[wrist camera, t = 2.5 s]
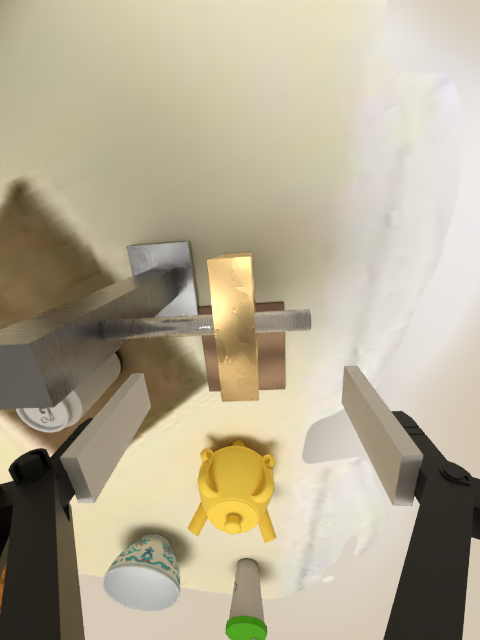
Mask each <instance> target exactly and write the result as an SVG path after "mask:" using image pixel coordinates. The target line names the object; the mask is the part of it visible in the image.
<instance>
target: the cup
mask: <svg viewBox="0 0 480 640" xmlns="http://www.w3.org/2000/svg"><path fill="white" fill-rule="evenodd" d="M226 635H227V636H228V637H229V638H230V639H231V640H265V639H266V636H267V626H266V625H265V623H264V615H263V607H262V598H261V589H260V581H259V572H258V564H257V563H256V561H254V560H252V559H247V558H246V559H241V560H240V561H238V564H237V571H236V577H235V584H234V590H233V598H232V604H231V610H230V617H229V620H228V621H227V624H226Z"/></svg>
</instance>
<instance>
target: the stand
mask: <svg viewBox="0 0 480 640" xmlns="http://www.w3.org/2000/svg"><path fill="white" fill-rule="evenodd" d="M127 250H128V255H129V259H130V264H131V268H132V273H133V277H130V278H128V279H125V280H123V281H120V282H118V283H115V284H113V285H110V286H108V287H105V288H103V289H100V290H98V291H95V292H93V293H91V294H88V295H86V296H83V297H81V298H78V299H76V300H73V301H71V302H68V303H66V304H63V305H61V306H58V307H56V308H53V309H51V310H49V311H46V312H44V313H41V314H39V315H36V316H34V317H31V318H29V319H26V320H24V321H21V322H19V323H16V324H14V325H11V326H9V327H7V328H4V329H2V330H0V409H18V408H54V407H55V406H56V405H57V404H59V403H60V402H61V401H62V400H63V399H64V398H65V397H66V396H67V395H69V394H70V393H71V392H72V391H73V390H74V389H75V388H76V387H77V386H79V385H80V384H81V383H82V382H83V381H84V380H85V379H86V378H87V377H88V376H90V375H91V374H92V373H93V372H94V371H95V370H96V369H97V368H98V367H100V366H101V365H102V364H103V363H104V362H105V361H106V360H107V359H108V358H110V357H111V356H112V355H113V354H114V353H115V352H116V351H117V350H118V349H120V348H121V347H122V346H123V345H124V344H125V343H126V342H127V341H128V340H130V339H138V338H158V337H179V336H200V335H215V331H214V321H213V315H199V312H198V307H199V305H198V297H197V290H196V283H195V275H194V268H193V261H192V254H191V246H190V241H186V242H173V243H160V244H147V245H134V246H127ZM254 315H255V333H262V332H282V331H303V330H310V329H311V314H310V311H309V309H304V310H286V311H268V312H254Z"/></svg>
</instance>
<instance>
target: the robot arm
mask: <svg viewBox="0 0 480 640" xmlns="http://www.w3.org/2000/svg"><path fill="white" fill-rule="evenodd" d="M342 404H343V406H344V408H345V410H346V412H347V414H348V416H349V418H350V420H351V422H352V424H353V426H354V428H355V430H356V432H357V434H358V436H359V438H360V440H361V442H362V444H363V446H364V448H365V450H366V452H367V454H368V456H369V458H370V460H371V462H372V464H373V466H374V468H375V470H376V472H377V474H378V476H379V478H380V480H381V482H382V484H383V486H384V488H385V490H386V492H387V495H388V497H389V499H390V501H391V503H392V504H393V505H394V506H395V505H396V506H402V505H403V506H412V505H413V500H414V496H415V497H416V499H417V500H418V502H419V504H420V506H419V511H418V514H417V518H416V521H415V525H414V529H413V532H412V536H411V540H410V544H409V547H408V551H407V555H406V558H405V562H404V566H403V569H402V573H401V577H400V581H399V584H398V588H397V592H396V595H395V599H394V603H393V606H392V610H391V614H390V617H389V621H388V625H387V629H386V632H385V636H384V640H462V635H463V624H464V612H465V600H466V590H467V577H468V566H469V555H470V543H471V537H473V538H476V539H479V540H480V479H477V478H474V477H472V476H471V475H470V473H468V472H467V471H466V470H465V469H464V468H462V467H460V466H459V465H457V464H455V463H452V462H449V461H447V460H446V459H445V457H444V456H443V455H442V454H441V452H440V451H439V450H438V449H437V448H436V446H435V445H434V444H433V443H432V442H431V440H430V439H429V438H428V437H427V435H425V433H424V432H423V431H422V430H421V428H419V426H418V425H417V423H416V422H415V421H414V420H413V419H412V418H411V417H410V416H408V415H407V414H405V413H404V412H402V411H390V409H389V408H388V407H387V406H386V404H385V403H384V401H383V400H382V399H381V397H380V396H379V395H378V393H377V392H376V391H375V389H374V388H373V387H372V385H371V384H370V383H369V381H368V380H367V379H366V377H365V376H364V375H363V373H362V372H361V370H360V369H359V368H358V366H344V378H343V392H342ZM150 408H151V405H150V401H149V396H148V392H147V388H146V383H145V379H144V375H143V373H133V374H131V375H130V377H129V378H128V379H127V380H126V381H125V382H124V384H123V385H122V386H121V387H120V388H119V389H118V391H117V392H116V393H115V394H114V395H113V396H112V398H111V399H110V400H109V401H108V402H107V403H106V405H105V406H104V407H103V408H102V409H101V410H100V412H99V413H98V414H97V415H96V416H95V417H94V418H89V419H87V420H86V421H85V422H83V423H82V424H80V425H79V426H78V427H77V429H76V430H75V431H74V432H73V434H71V435H70V436H69V437H68V439H67V440H66V441H65V442H64V443H63V444H62V445H61V446H60V447H59V449H58V450H57V451H56V452H55V453H54V454H53V455H52V456H51V457H49V455H48V452H47V450H46V449H43V448H40V449H35V450H32V451H29V452H27V453H25V454H23V455H22V456H20V457H19V458H17V459H16V460H15V461H14V462H13V463H12V464H11V465H10V468H9V470H8V471H9V472H10V474H11V476H12V478H13V480H14V481H11V482H8V483H4V484H0V578H1V575H2V573H3V570H4V567H5V565H6V571H5V579H4V587H3V596H2V604H1V612H0V640H85V637H84V626H83V617H82V608H81V597H80V587H79V579H78V568H77V558H76V548H75V539H74V529H73V519H72V509H71V505H70V503H69V502H70V500H71V499H72V497H73V496H74V494H75V495H76V498H77V500H78V502H79V503H95V501H96V499H97V498H98V496H99V494H100V493H101V491H102V489H103V488H104V486H105V484H106V483H107V481H108V479H109V477H110V476H111V474H112V472H113V471H114V469H115V467H116V466H117V464H118V462H119V460H120V459H121V457H122V455H123V454H124V452H125V450H126V449H127V447H128V445H129V444H130V442H131V440H132V438H133V437H134V435H135V433H136V432H137V430H138V428H139V427H140V425H141V423H142V421H143V420H144V418H145V416H146V415H147V413H148V411H149V410H150Z"/></svg>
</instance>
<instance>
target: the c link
mask: <svg viewBox="0 0 480 640" xmlns="http://www.w3.org/2000/svg"><path fill="white" fill-rule="evenodd" d="M207 265H208V274H209V284H210V293H211V302H212V312H213V321H214V331H215V340H216V350H217V359H218V369H219V378H220V387H221V397H222V401H258V400H259V382H258V343H257V333H255V315H254V312H256V307H255V289H254V271H253V253H252V252H244V253H230V254H224V255H221V256H218V257H214V258H211V259H208V260H207Z"/></svg>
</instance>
